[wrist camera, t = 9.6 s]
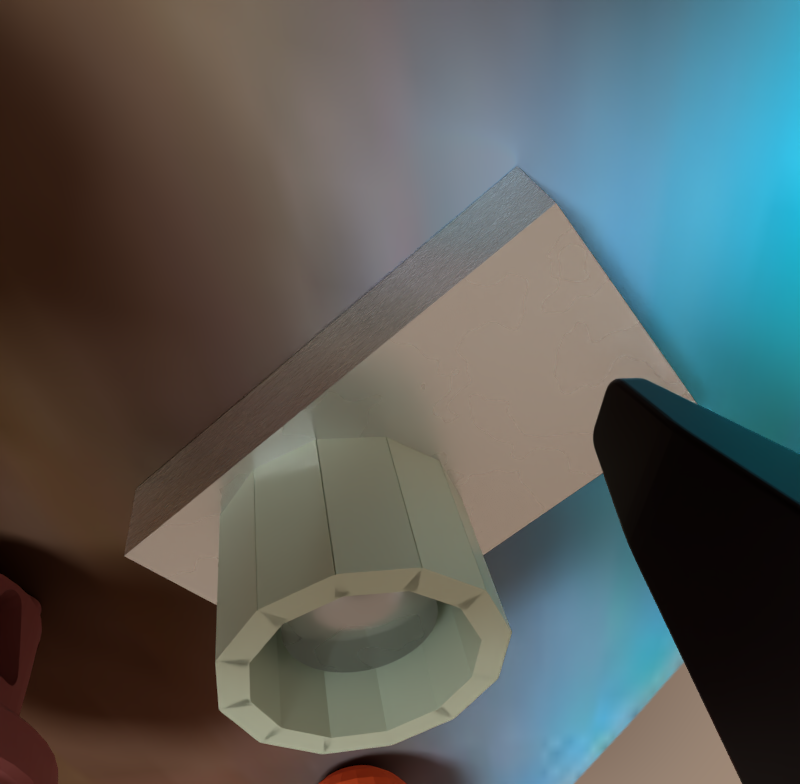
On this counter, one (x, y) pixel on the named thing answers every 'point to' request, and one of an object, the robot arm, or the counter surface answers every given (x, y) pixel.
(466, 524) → the collar
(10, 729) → the mechanical component
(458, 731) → the counter surface
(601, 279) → the beige rectangular block
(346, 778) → the clementine
